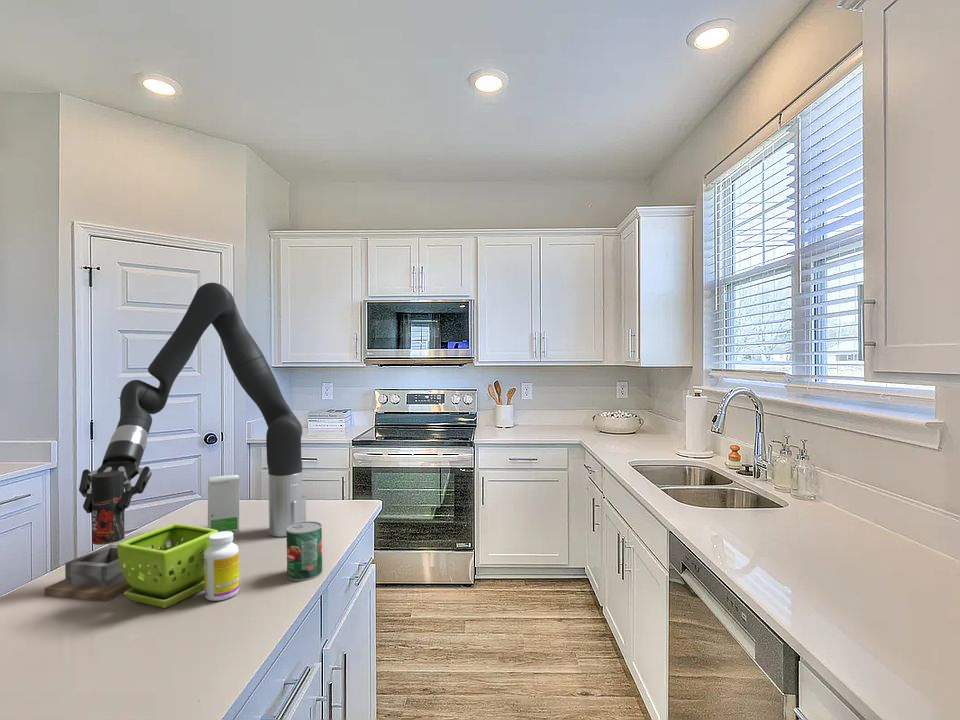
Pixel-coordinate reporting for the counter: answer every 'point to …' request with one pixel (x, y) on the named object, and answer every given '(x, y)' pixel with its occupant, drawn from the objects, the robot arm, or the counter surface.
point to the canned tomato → (304, 550)
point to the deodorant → (107, 507)
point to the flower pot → (165, 564)
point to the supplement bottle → (221, 567)
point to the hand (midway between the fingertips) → (104, 510)
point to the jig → (93, 577)
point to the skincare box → (223, 503)
